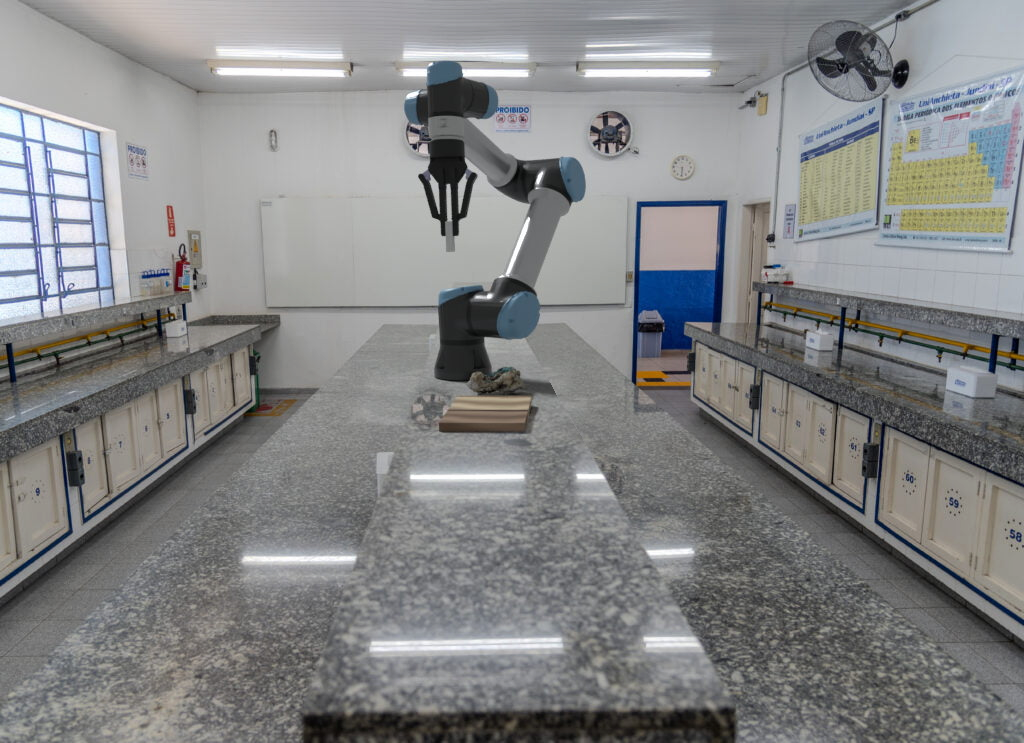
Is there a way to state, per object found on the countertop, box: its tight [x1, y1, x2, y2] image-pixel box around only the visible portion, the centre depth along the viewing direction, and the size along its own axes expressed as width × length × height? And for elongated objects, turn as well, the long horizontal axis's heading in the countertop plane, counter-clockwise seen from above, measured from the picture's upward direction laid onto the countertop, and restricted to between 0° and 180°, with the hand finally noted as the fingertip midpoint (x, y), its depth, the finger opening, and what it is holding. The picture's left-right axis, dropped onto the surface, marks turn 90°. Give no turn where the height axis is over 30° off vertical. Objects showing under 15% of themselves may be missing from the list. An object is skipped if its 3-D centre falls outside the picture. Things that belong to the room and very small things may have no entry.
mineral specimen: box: [466, 366, 526, 396], centre depth 160 cm, size 12×9×8 cm
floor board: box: [438, 409, 529, 432], centre depth 134 cm, size 10×16×2 cm, turn 85°
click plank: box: [448, 395, 533, 418], centre depth 145 cm, size 10×16×2 cm, turn 85°
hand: (450, 251), depth 154 cm, fingers closed
